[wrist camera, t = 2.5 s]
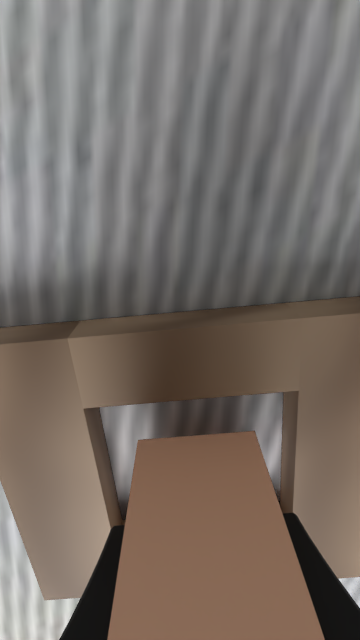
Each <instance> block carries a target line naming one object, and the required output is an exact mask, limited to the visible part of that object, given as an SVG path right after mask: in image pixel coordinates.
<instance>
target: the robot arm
mask: <svg viewBox="0 0 360 640" xmlns="http://www.w3.org/2000/svg"><path fill="white" fill-rule="evenodd" d="M282 514H283V517H284V520H285V523H286V526H287V529H288V532H289V535H290V538H291V541H292V544H293V547H294V550H295V553H296V555H297V558H298V561H299V564H300V567H301V570H302V573H303V576H304V579H305V582H306V585H307V588H308V591H309V594H310V597H311V600H312V603H313V606H314V609H315V612H316V615H317V618H318V621H319V624H320V627H321V630H322V633H323V636H324V639H325V640H360V608H359V607H358V605H357V604H356V603H355V601H354V600H353V599H352V597H351V596H350V594H349V593H348V592H347V590H346V589H345V588H344V586H343V585H342V583H341V582H340V581H339V579H338V578H337V577H336V575H335V574H334V572H333V571H332V569H331V568H330V567H329V565H328V564H327V562H326V561H325V559H324V558H323V556H322V555H321V553H320V552H319V550H318V549H317V547H316V546H315V544H314V543H313V541H312V540H311V538H310V536H309V535H308V533H307V532H306V530H305V528H304V527H303V525H302V523H301V522H300V520H299V518H298V516H297V515H296V514H294V513H282ZM124 528H125V525H117V526H113V527H112V528H111V530H110V533H109V535H108V538H107V540H106V543H105V545H104V548H103V550H102V553H101V555H100V557H99V560H98V562H97V564H96V566H95V569H94V571H93V573H92V575H91V578H90V580H89V582H88V584H87V586H86V588H85V590H84V592H83V594H82V596H81V598H80V600H79V603H78V605H77V607H76V609H75V611H74V613H73V615H72V617H71V619H70V621H69V623H68V625H67V626H66V628H65V630H64V632H63V634H62V636H61V638H60V639H59V640H107V639H108V632H109V626H110V619H111V613H112V606H113V600H114V593H115V587H116V580H117V574H118V567H119V561H120V554H121V548H122V541H123V535H124Z"/></svg>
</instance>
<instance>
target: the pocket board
mask: <svg viewBox="0 0 360 640" xmlns="http://www.w3.org/2000/svg"><path fill="white" fill-rule="evenodd" d="M276 392H283V425H282V459H281V492H280V508H281V511H282V513H294V514H296V515H297V516H298V518H299V520H300V522H301V523H302V525H303V527H304V528H305V530H306V532H307V533H308V535H309V536H310V538H311V540H312V541H313V543H314V544H315V546H316V547H317V549H318V550H319V552H320V553H321V555H322V556H323V558H324V559H325V561H326V562H327V564H328V565H329V567H330V568H331V569H332V571H333V572H334V574H335V575H336V577H337V578H350V577H360V296H358V297H347V298H335V299H324V300H312V301H301V302H289V303H278V304H266V305H255V306H243V307H232V308H220V309H209V310H197V311H186V312H174V313H163V314H151V315H140V316H128V317H117V318H105V319H94V320H82V321H71V322H60V323H48V324H37V325H25V326H14V327H2V328H0V481H1V483H2V486H3V489H4V492H5V494H6V497H7V500H8V502H9V505H10V508H11V511H12V513H13V516H14V519H15V521H16V524H17V527H18V530H19V532H20V535H21V538H22V540H23V543H24V546H25V549H26V551H27V554H28V557H29V559H30V562H31V565H32V568H33V570H34V573H35V576H36V578H37V581H38V584H39V587H40V589H41V592H42V595H43V597H44V600H55V599H68V598H81V596H82V594H83V592H84V590H85V588H86V586H87V584H88V582H89V580H90V578H91V575H92V573H93V571H94V569H95V566H96V564H97V562H98V560H99V557H100V555H101V553H102V550H103V548H104V545H105V543H106V540H107V538H108V535H109V533H110V530H111V528H112V527H113V526H117V525H125V522H126V520H122V517H121V512H120V508H119V503H118V498H117V493H116V488H115V483H114V479H113V474H112V469H111V464H110V459H109V455H108V450H107V445H106V440H105V435H104V430H103V426H102V421H101V416H100V411H99V407H108V406H120V405H132V404H144V403H156V402H168V401H180V400H192V399H204V398H216V397H228V396H240V395H252V394H264V393H276Z"/></svg>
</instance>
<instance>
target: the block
mask: <svg viewBox="0 0 360 640" xmlns="http://www.w3.org/2000/svg"><path fill="white" fill-rule="evenodd" d="M107 640H325V639H324V636H323V633H322V630H321V627H320V624H319V621H318V618H317V615H316V612H315V609H314V606H313V603H312V600H311V597H310V594H309V591H308V588H307V585H306V582H305V579H304V576H303V573H302V570H301V567H300V564H299V561H298V558H297V555H296V553H295V550H294V547H293V544H292V541H291V538H290V535H289V532H288V529H287V526H286V523H285V520H284V517H283V514H282V511H281V508H280V505H279V502H278V499H277V496H276V493H275V490H274V487H273V484H272V481H271V478H270V475H269V472H268V469H267V466H266V463H265V461H264V458H263V455H262V452H261V449H260V446H259V443H258V440H257V437H256V434H255V431H246V432H233V433H221V434H208V435H195V436H182V437H169V438H157V439H144V440H138V443H137V450H136V456H135V463H134V469H133V476H132V482H131V489H130V495H129V502H128V508H127V515H126V522H125V528H124V535H123V541H122V548H121V554H120V561H119V567H118V574H117V580H116V587H115V593H114V600H113V606H112V613H111V619H110V626H109V632H108V639H107Z"/></svg>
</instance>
